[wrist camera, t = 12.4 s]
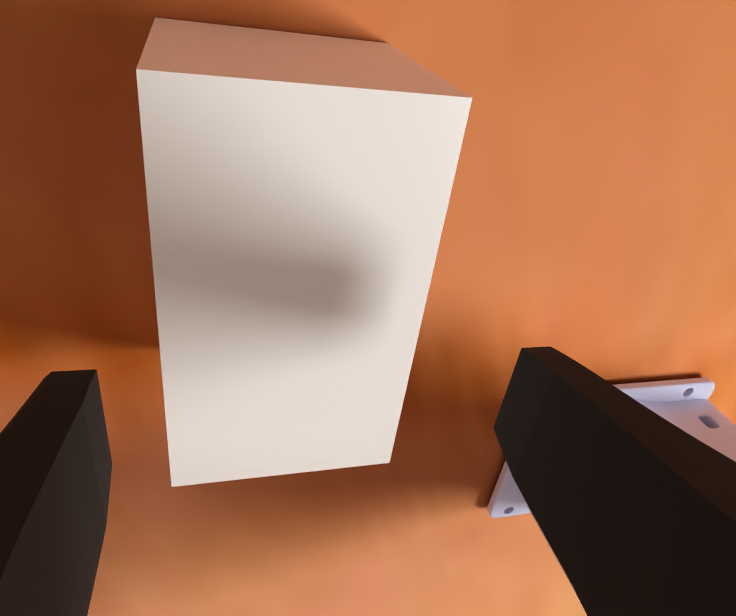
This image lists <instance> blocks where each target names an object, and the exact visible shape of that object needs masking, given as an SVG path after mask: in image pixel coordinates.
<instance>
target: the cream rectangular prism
mask: <svg viewBox="0 0 736 616" xmlns="http://www.w3.org/2000/svg"><path fill="white" fill-rule="evenodd" d="M136 75H137V87H138V98H139V110H140V122H141V134H142V145H143V157H144V169H145V181H146V192H147V204H148V216H149V228H150V239H151V251H152V263H153V275H154V286H155V298H156V310H157V322H158V334H159V345H160V357H161V369H162V381H163V392H164V404H165V416H166V428H167V439H168V451H169V463H170V475H171V486H172V487H176V486H185V485H194V484H203V483H212V482H221V481H230V480H239V479H248V478H257V477H266V476H275V475H284V474H293V473H302V472H311V471H320V470H329V469H338V468H347V467H356V466H365V465H374V464H383V463H390V458H391V454H392V449H393V445H394V441H395V436H396V432H397V427H398V423H399V419H400V414H401V410H402V405H403V401H404V397H405V392H406V388H407V383H408V379H409V374H410V370H411V366H412V361H413V357H414V352H415V348H416V344H417V339H418V335H419V330H420V326H421V322H422V317H423V313H424V308H425V304H426V300H427V295H428V291H429V286H430V282H431V277H432V273H433V269H434V264H435V260H436V255H437V251H438V247H439V242H440V238H441V233H442V229H443V225H444V220H445V216H446V211H447V207H448V203H449V198H450V194H451V189H452V185H453V181H454V176H455V172H456V167H457V163H458V158H459V154H460V150H461V145H462V141H463V136H464V132H465V128H466V123H467V119H468V114H469V110H470V106H471V101H472V97H470V96H469V95H467V94H466V93H464V92H463V91H461V90H460V89H458V88H456V87H455V86H453V85H452V84H450V83H449V82H447V81H446V80H444V79H443V78H441V77H440V76H438V75H437V74H435V73H434V72H432V71H430V70H429V69H427V68H426V67H424V66H423V65H421V64H420V63H418V62H417V61H415V60H414V59H412V58H411V57H409V56H408V55H406V54H405V53H403V52H401V51H400V50H398V49H397V48H395V47H394V46H392V45H391V44H389V43H383V42H374V41H365V40H355V39H346V38H337V37H328V36H319V35H310V34H301V33H292V32H283V31H274V30H265V29H256V28H247V27H237V26H228V25H219V24H210V23H201V22H192V21H183V20H174V19H165V18H156V17H155V19H154V22H153V25H152V27H151V30H150V33H149V36H148V38H147V41H146V44H145V46H144V49H143V52H142V54H141V57H140V60H139V63H138V65H137V68H136Z"/></svg>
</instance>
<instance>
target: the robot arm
mask: <svg viewBox="0 0 736 616" xmlns="http://www.w3.org/2000/svg"><path fill="white" fill-rule="evenodd" d="M714 388H715V384H714V383H713V382H712V381H711V380H710V379H709V378H706V377H705V378H692V379H679V380H667V381H654V382H641V383H629V384H616V385H612V384H610V383H609V382H607V381H606V380H604V379H603V378H601V377H600V376H598V375H597V374H595V373H593V372H592V371H590V370H589V369H587V368H586V367H584V366H583V365H581V364H579V363H578V362H576V361H575V360H573V359H571V358H570V357H568V356H566V355H565V354H563V353H561V352H559V351H558V350H556V349H554V348H552V347H532V348H522V349H521V351H520V354H519V357H518V360H517V363H516V366H515V368H514V371H513V374H512V377H511V380H510V383H509V385H508V388H507V391H506V394H505V397H504V400H503V402H502V405H501V408H500V411H499V414H498V417H497V419H496V422H495V425H494V430H495V433H496V436H497V438H498V441H499V444H500V447H501V449H502V452H503V455H504V457H505V460H506V461H505V463H504V466H503V469H502V471H501V474H500V476H499V479H498V481H497V484H496V486H495V489H494V492H493V494H492V497H491V499H490V502H489V504H488V507H487V510H488V512H489V514H490V516H491V517H493V518H499V517H506V516H512V515H519V514H526V513H531V515H532V516H533V518H534V520H535V522H536V524H537V525H538V527H539V529H540V531H541V532H542V534H543V536H544V538H545V539H546V541H547V543H548V545H549V547H550V548H551V550H552V552H553V554H554V555H555V557H556V559H557V561H558V563H559V564H560V566H561V568H562V570H563V571H564V573H565V575H566V577H567V578H568V580H569V582H570V584H571V586H572V587H573V589H574V591H575V593H576V594H577V596H578V598H579V600H580V602H581V604H582V606H583V608H584V610H585V612H586V614H587V616H736V426H735V425H734V424H733V423H732V422H731V421H730V420H729V419H728V418H727V417H726V416H725V415H724V414H723V413H722V412H720V411H719V410H718V409H717V408H716V407H715V406H714V405H713V404H712V403H711V402H710V401H709V400H708V398H709V397H710V395H711V393H712V392H713V390H714ZM111 469H112V460H111V454H110V448H109V442H108V436H107V430H106V424H105V418H104V412H103V406H102V400H101V393H100V387H99V381H98V375H97V370H77V371H57V372H51V373H50V374H48V375H47V376H46V377H45V378H44V379H43V380H42V382H41V383H40V384H39V385H38V387H37V388H36V389H35V391H34V392H33V393H32V394H31V396H30V397H29V398H28V400H27V401H26V402H25V403H24V405H23V406H22V407H21V408H20V410H19V411H18V412H17V413H16V415H15V416H14V417H13V418H12V420H11V421H10V422H9V423H8V425H7V426H6V427H5V428H4V429H3V431H2V432H1V433H0V616H87V614H88V609H89V605H90V600H91V595H92V591H93V586H94V582H95V577H96V572H97V567H98V563H99V558H100V553H101V549H102V544H103V539H104V534H105V529H106V523H107V513H108V503H109V492H110V481H111Z"/></svg>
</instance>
